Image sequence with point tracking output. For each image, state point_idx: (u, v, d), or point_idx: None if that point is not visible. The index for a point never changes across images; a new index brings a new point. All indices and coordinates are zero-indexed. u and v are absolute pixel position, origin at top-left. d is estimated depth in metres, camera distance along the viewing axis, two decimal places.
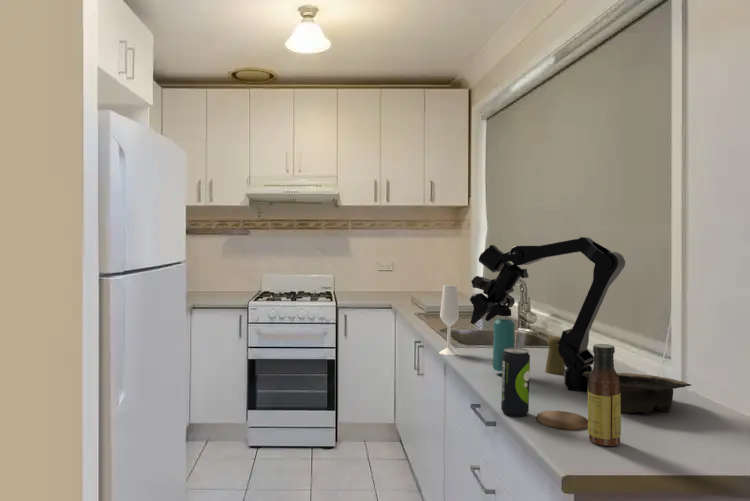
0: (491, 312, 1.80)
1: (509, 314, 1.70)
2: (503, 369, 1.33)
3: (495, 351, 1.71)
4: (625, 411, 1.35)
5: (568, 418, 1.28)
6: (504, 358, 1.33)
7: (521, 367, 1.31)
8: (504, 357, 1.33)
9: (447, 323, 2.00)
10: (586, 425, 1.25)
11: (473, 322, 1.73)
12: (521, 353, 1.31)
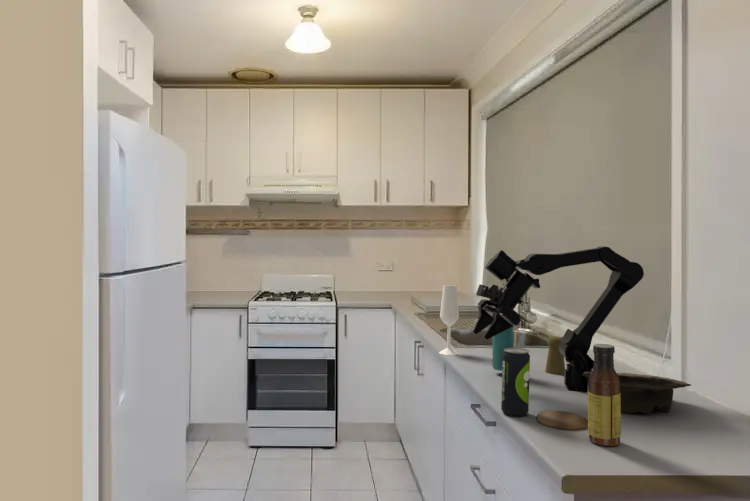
0: (481, 324, 1.61)
1: None
2: (503, 369, 1.33)
3: (494, 350, 1.71)
4: (625, 411, 1.35)
5: (568, 418, 1.28)
6: (504, 358, 1.33)
7: (521, 367, 1.31)
8: (504, 357, 1.33)
9: (447, 323, 2.00)
10: (586, 425, 1.25)
11: (489, 337, 1.51)
12: (521, 353, 1.31)
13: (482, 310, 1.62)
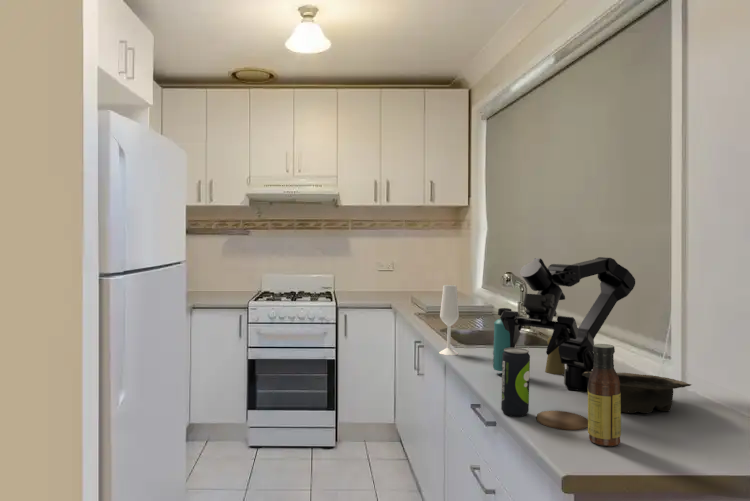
0: (514, 338, 1.44)
1: None
2: (503, 369, 1.33)
3: (495, 351, 1.71)
4: (625, 411, 1.35)
5: (568, 418, 1.28)
6: (504, 358, 1.33)
7: (521, 367, 1.31)
8: (504, 357, 1.33)
9: (447, 323, 2.00)
10: (586, 425, 1.25)
11: (550, 352, 1.38)
12: (521, 353, 1.31)
13: (515, 322, 1.45)
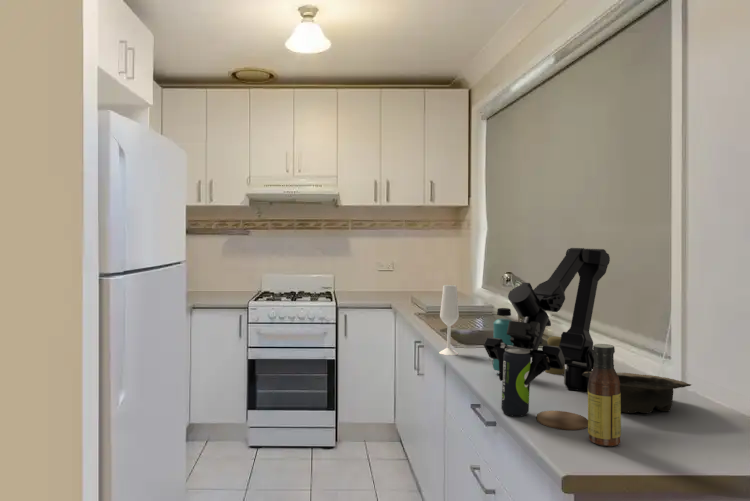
0: None
1: (509, 314, 1.70)
2: (504, 369, 1.33)
3: None
4: (625, 411, 1.35)
5: (568, 418, 1.28)
6: (505, 358, 1.33)
7: (522, 368, 1.30)
8: (505, 357, 1.33)
9: (447, 323, 2.00)
10: (586, 425, 1.25)
11: (528, 382, 1.31)
12: (522, 353, 1.31)
13: None
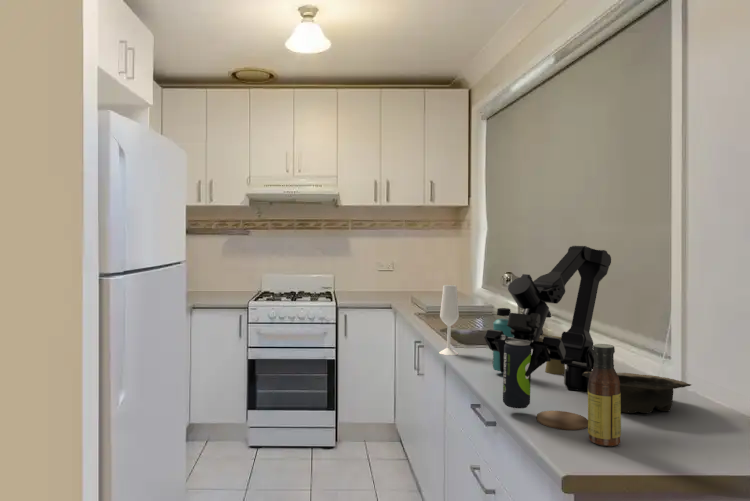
0: None
1: (508, 314, 1.70)
2: (504, 361, 1.33)
3: (495, 351, 1.71)
4: (625, 411, 1.35)
5: (568, 418, 1.28)
6: (505, 350, 1.32)
7: (522, 359, 1.30)
8: (505, 349, 1.32)
9: (447, 323, 2.00)
10: (586, 425, 1.25)
11: (529, 374, 1.31)
12: (523, 345, 1.31)
13: (505, 343, 1.37)
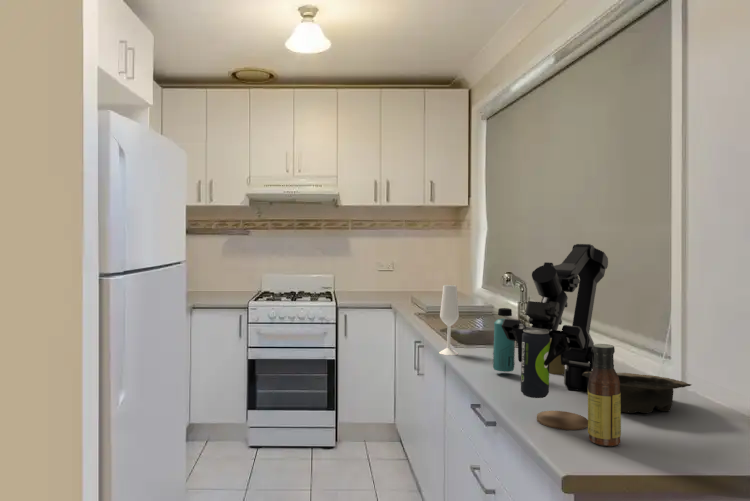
0: None
1: (509, 314, 1.70)
2: (523, 350, 1.31)
3: (495, 351, 1.71)
4: (625, 411, 1.35)
5: (568, 418, 1.28)
6: (524, 339, 1.30)
7: (541, 348, 1.28)
8: (524, 338, 1.30)
9: (447, 323, 2.00)
10: (586, 425, 1.25)
11: (548, 363, 1.29)
12: (541, 333, 1.28)
13: None
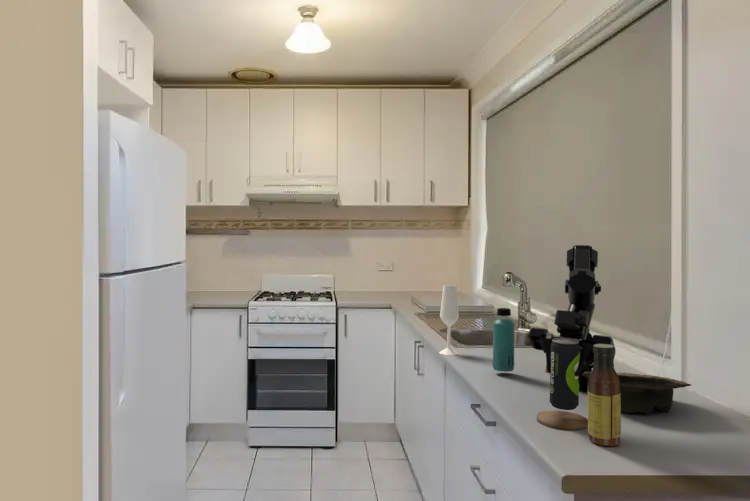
0: None
1: (508, 314, 1.70)
2: (552, 360, 1.27)
3: (495, 351, 1.71)
4: (625, 411, 1.35)
5: (568, 418, 1.28)
6: (553, 349, 1.27)
7: (572, 359, 1.25)
8: (553, 348, 1.27)
9: (447, 323, 2.00)
10: (586, 425, 1.25)
11: (578, 374, 1.26)
12: (572, 344, 1.25)
13: (551, 342, 1.32)
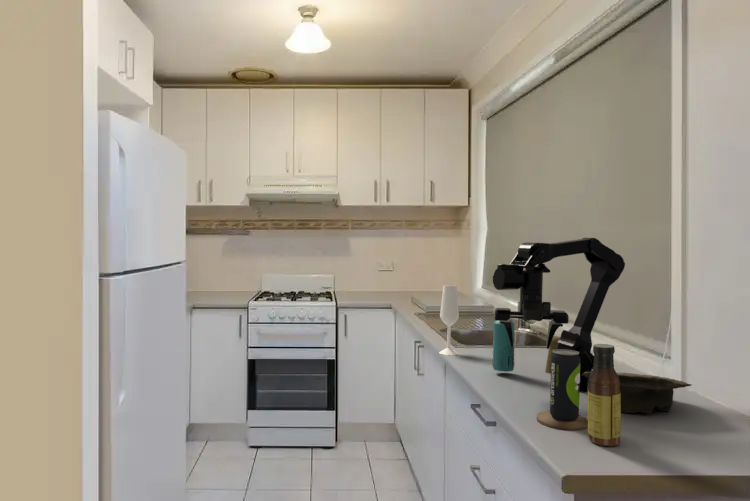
0: None
1: None
2: (552, 371, 1.28)
3: (495, 351, 1.71)
4: (625, 411, 1.35)
5: None
6: (554, 360, 1.27)
7: (572, 370, 1.25)
8: (554, 359, 1.27)
9: (447, 323, 2.00)
10: (586, 425, 1.25)
11: None
12: (572, 355, 1.26)
13: None
